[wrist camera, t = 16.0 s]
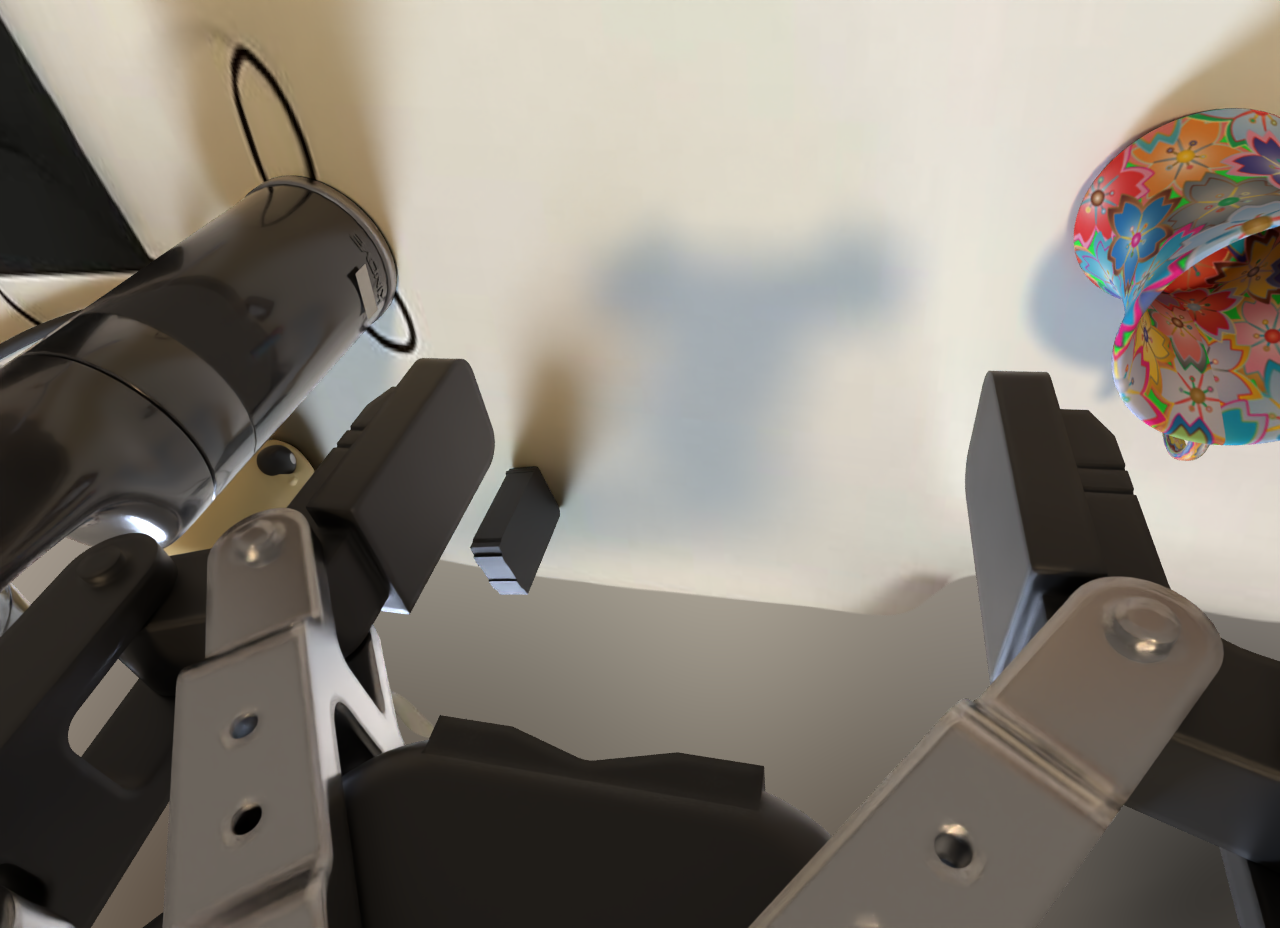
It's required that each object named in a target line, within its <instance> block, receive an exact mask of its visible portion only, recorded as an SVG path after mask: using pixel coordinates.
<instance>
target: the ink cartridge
mask: <svg viewBox="0 0 1280 928" xmlns="http://www.w3.org/2000/svg"><path fill="white" fill-rule="evenodd" d="M559 517H560V510H559V506H558V504H557V502H556V501H555V499H554V497H553V495H552V493H551V491H550V489H549V487H548V485H547V483H546V482H545V480H544V478H543V476H542V474H541V472H540V471H539V469H538V467H531V468H518V469H510V470H509V471H507V472H506V477H505V479H504V481H503V483H502V485H501V487H500V489H499V491H498V493H497V494H496V496H495V498H494V500H493V502H492V504H491V506H490V508H489V510H488V512H487V514H486V516H485V518H484V519H483V521H482V523H481V525H480V527H479V529H478V531H477V533H476V535H475V537H474V539H473V543H472V545H471V547H470V548H471V550H472V552H473V554H474V557H473V558H474V559H475V561H476V563H477V564H478V566H480V567H481V569H482V570H483V572H484V573H485V575H486V576H487V578H488V579H489V582H490V584H491V585H492V587H493V588H494V589H496V590H497V591H498V592H499V593H500V594H528V592H529V590H530V587H531V585H532V582H533V580H534V578H535V575H536V573H537V570H538V568H539V565H540V563H541V561H542V558H543V556H544V553H545V551H546V548H547V546H548V544H549V541H550V539H551V536H552V534H553V531H554V529H555V527H556V524H557V522H558V519H559Z"/></svg>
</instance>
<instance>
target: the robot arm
mask: <svg viewBox="0 0 1280 928" xmlns="http://www.w3.org/2000/svg"><path fill="white" fill-rule="evenodd" d="M396 282H397V281H396V270H395V265H394V261H393V258H392V255H391V252H390V250H389V247H388V245H387V243H386V241H385V240H384V238H383V236H382V235H381V233H380V231H379V230H378V229H377V227H376V226H375V224H374V223H373V222H372V221H371V220H370V218H369V217H368V216H367V215H366V214H365V213H364V212H363V211H362V210H361V209H360V208H359V207H358V206H357V205H356V204H354V203H353V202H352V201H351V200H349V199H348V198H347V197H345V196H344V195H343V194H341V193H340V192H338V191H336V190H335V189H333V188H331V187H329V186H327V185H325V184H323V183H320V182H318V181H315V180H312V179H308V178H304V177H298V176H280V177H275V178H272V179H269V180H267V181H265V182H263V183H262V184H260V185H259V186H257V187H256V188H255V189H253V190H252V191H251V192H249V193H248V194H247V196H246V197H245V198H244V199H243V200H241V201H240V202H238V203H237V204H235V205H234V206H233V207H231V208H230V209H228V210H227V211H225V212H224V213H222V214H221V215H219V216H218V217H216V218H215V219H213V220H212V221H210V222H209V223H207V224H206V225H205V226H203V227H202V228H200V229H199V230H197V231H196V232H194V233H193V234H192V235H190V236H189V237H187V238H186V239H184V240H183V241H182V242H180V243H179V244H177V245H176V246H174V247H173V248H171V249H170V250H169V251H167V252H166V253H164V254H163V255H161V256H160V257H158V258H157V259H156V260H154V261H153V262H151V263H150V264H148V265H147V266H146V267H144V268H143V269H141V270H140V271H138V272H137V273H135V274H134V275H133V276H131V277H130V278H128V279H127V280H125V281H124V282H122V283H121V284H120V285H118V286H117V287H115V288H114V289H112V290H111V291H110V292H108V293H107V294H105V295H104V296H102V297H101V298H99V299H98V300H97V301H95V302H94V303H92V304H91V305H89V306H88V307H86V308H85V309H82V310H79V311H76V312H72V313H69V314H66V315H64V316H61V317H58V318H55V319H53V320H50V321H47V322H45V323H42V324H40V325H37V326H35V327H33V328H31V329H28V330H26V331H24V332H22V333H20V334H18V335H16V336H14V337H12V338H10V339H9V340H7V341H5V342H3V343H1V344H0V359H2V358H4V357H6V356H7V355H9V354H11V353H13V352H15V351H17V350H19V349H21V348H23V347H25V346H27V345H29V344H31V343H33V342H35V341H38V340H40V339H41V340H40V341H38V342H37V343H35V344H34V345H32V346H31V347H30V348H28V349H27V350H25V351H24V352H22V353H21V354H20V355H18V356H17V357H15V358H14V359H13V360H11V361H9V362H8V363H6V364H5V365H3V366H2V367H1V368H0V928H91V926H92V925H93V923H94V922H95V920H96V918H97V917H98V915H99V913H100V912H101V910H102V909H103V907H104V906H105V904H106V902H107V901H108V899H109V897H110V896H111V894H112V893H113V891H114V889H115V888H116V886H117V885H118V883H119V881H120V880H121V878H122V877H123V875H124V873H125V872H126V870H127V868H128V867H129V865H130V864H131V862H132V860H133V859H134V857H135V856H136V854H137V852H138V851H139V849H140V847H141V846H142V844H143V843H144V841H145V839H146V838H147V836H148V835H149V833H150V831H151V830H152V828H153V826H154V825H155V823H156V822H157V820H158V818H159V816H160V815H161V814H162V812H163V810H164V809H165V807H166V806H167V804H168V802H169V801H170V806H169V824H168V842H167V861H166V878H165V897H164V912H163V913H161V914H160V915H159V916H158V917H156V918H155V919H153V920H152V921H151V922H149V923H148V924H147V925H146V926H144V927H143V928H1036V927H1037V926H1038V925H1039V923H1040V922H1041V921H1042V919H1043V918H1044V916H1045V915H1046V914H1047V912H1048V911H1049V909H1050V908H1051V906H1052V905H1053V904H1054V902H1055V901H1056V899H1057V898H1058V897H1059V895H1060V894H1061V892H1062V891H1063V889H1064V888H1065V886H1066V885H1067V884H1068V883H1069V881H1070V880H1071V878H1072V877H1073V876H1074V874H1075V873H1076V871H1077V870H1078V868H1079V867H1080V866H1081V864H1082V863H1083V861H1084V860H1085V859H1086V857H1087V856H1088V854H1089V853H1090V852H1091V850H1092V849H1093V847H1094V846H1095V845H1096V843H1097V842H1098V840H1099V839H1100V837H1101V836H1102V835H1103V833H1104V832H1105V830H1106V829H1107V827H1108V826H1109V825H1110V823H1111V822H1112V821H1113V819H1114V818H1115V816H1116V815H1117V813H1118V812H1119V811H1120V809H1121V807H1122V806H1123V805H1125V806H1127V807H1130V808H1132V809H1134V810H1136V811H1139V812H1141V813H1143V814H1146V815H1148V816H1150V817H1153V818H1155V819H1157V820H1159V821H1161V822H1164V823H1166V824H1168V825H1171V826H1173V827H1175V828H1177V829H1180V830H1182V831H1184V832H1187V833H1189V834H1191V835H1193V836H1196V837H1198V838H1200V839H1203V840H1205V841H1207V842H1209V843H1212V844H1214V845H1216V846H1218V847H1220V851H1221V855H1222V858H1223V862H1224V867H1225V870H1226V874H1227V878H1228V882H1229V886H1230V890H1231V894H1232V898H1233V902H1234V906H1235V909H1236V913H1237V917H1238V921H1239V925H1240V928H1280V661H1277V660H1274V659H1271V658H1268V657H1265V656H1262V655H1259V654H1256V653H1253V652H1251V651H1248V650H1245V649H1243V648H1240V647H1238V646H1236V645H1234V644H1232V643H1230V642H1227V641H1226V640H1224V639H1222V638H1221V637H1220V635H1219V633H1218V631H1217V629H1216V628H1215V626H1214V624H1213V623H1212V622H1211V621H1210V619H1209V618H1208V617H1207V616H1206V614H1205V613H1203V612H1202V611H1201V610H1200V609H1199V608H1198V607H1197V606H1196V605H1195V604H1193V603H1192V602H1191V601H1189V600H1188V599H1186V598H1185V597H1183V596H1182V595H1180V594H1178V593H1176V592H1175V591H1173V590H1171V588H1170V586H1169V584H1168V581H1167V579H1166V576H1165V573H1164V570H1163V568H1162V565H1161V562H1160V559H1159V557H1158V554H1157V551H1156V548H1155V546H1154V543H1153V540H1152V537H1151V535H1150V532H1149V529H1148V526H1147V523H1146V521H1145V518H1144V515H1143V512H1142V510H1141V507H1140V504H1139V501H1138V499H1137V496H1136V495H1134V494H1133V491H1134V488H1133V485H1132V482H1131V479H1130V477H1129V474H1128V471H1125V463H1124V460H1123V457H1122V454H1121V452H1120V449H1119V446H1118V443H1117V441H1116V438H1115V436H1114V435H1113V434H1112V433H1111V432H1110V431H1109V430H1108V429H1107V428H1106V427H1105V426H1104V425H1103V424H1102V423H1101V422H1100V421H1099V420H1098V419H1097V418H1096V417H1095V416H1094V415H1093V414H1092V413H1091V412H1090V411H1089V410H1069V409H1060V407H1059V404H1058V400H1057V397H1056V394H1055V390H1054V387H1053V383H1052V380H1051V377H1050V375H1049V373H1047V372H1015V371H988V372H987V374H986V376H985V379H984V382H983V386H982V391H981V395H980V400H979V405H978V409H977V414H976V418H975V423H974V427H973V432H972V436H971V441H970V445H969V450H968V455H967V462H966V474H965V491H966V501H967V509H968V516H969V524H970V532H971V539H972V547H973V555H974V563H975V570H976V578H977V586H978V593H979V601H980V609H981V617H982V624H983V632H984V640H985V647H986V655H987V663H988V671H989V678H990V686H989V687H988V688H987V689H986V690H985V691H984V692H983V693H982V695H980V696H979V697H978V698H977V699H976V700H974V701H971V700H969V699H967V698H965V699H962V700H961V701H959V702H958V703H956V704H955V705H954V706H953V707H952V708H951V709H949V710H948V711H947V712H946V713H945V715H943V717H941V719H940V720H939V721H938V722H937V723H936V724H935V725H934V726H933V727H932V728H931V729H930V731H929V732H928V733H927V734H926V735H925V736H924V737H923V738H922V739H921V740H920V741H919V742H918V744H917V745H916V746H915V747H914V748H913V749H912V750H911V751H910V752H909V754H908V755H907V756H906V757H905V758H904V759H903V760H902V761H901V762H900V763H899V764H898V765H897V766H896V768H895V769H894V770H893V771H892V772H891V773H890V774H889V775H888V776H887V777H886V778H885V779H884V781H883V782H882V783H881V784H880V785H879V786H878V787H877V788H876V789H875V790H874V791H873V793H872V794H871V795H870V796H869V797H868V798H867V799H866V800H865V801H864V802H863V803H862V804H861V806H860V807H859V808H858V809H857V810H856V811H855V812H854V813H853V814H852V815H851V816H850V818H849V819H848V820H847V821H846V822H845V823H844V824H843V825H842V826H841V827H840V828H839V829H838V831H837V832H836V833H835V834H834V835H833V836H831V835H830V834H829V833H828V832H827V831H826V830H825V829H824V828H823V827H821V826H820V825H819V824H818V823H816V822H815V821H814V820H813V819H811V818H810V817H809V816H808V815H806V814H805V813H804V812H802V811H800V810H799V809H797V808H795V807H794V806H792V805H791V804H789V803H787V802H786V801H784V800H782V799H780V798H778V797H776V796H773V795H772V794H769V793H767V792H765V777H764V766H760V765H754V764H747V763H740V762H735V761H728V760H722V759H715V758H709V757H702V756H696V755H689V754H684V753H667V754H657V755H647V756H638V757H626V758H616V759H606V760H597V761H589V760H583V759H580V758H577V757H576V756H573V755H571V754H569V753H567V752H565V751H563V750H560V749H558V748H556V747H554V746H552V745H550V744H548V743H546V742H544V741H542V740H540V739H538V738H535V737H533V736H531V735H529V734H527V733H525V732H523V731H520V730H519V729H516V728H514V727H511V726H504V725H498V724H492V723H486V722H479V721H473V720H467V719H460V718H454V717H448V716H441V715H440V716H439V718H438V721H437V723H436V725H435V727H434V729H433V732H432V734H431V736H430V738H429V740H424V741H419V742H415V743H411V744H407V745H405V744H404V741H403V739H402V737H401V734H400V731H399V728H398V724H397V720H396V715H395V710H394V705H393V700H392V696H391V691H390V686H389V681H388V677H387V672H386V667H385V662H384V657H383V653H382V648H381V643H380V638H379V635H378V632H377V630H376V629H375V627H374V625H373V623H374V621H375V620H376V618H377V616H378V614H379V613H380V611H386V612H396V613H403V614H410V613H411V611H412V609H413V607H414V605H415V603H416V601H417V600H418V598H419V596H420V594H421V592H422V590H423V588H424V587H425V585H426V583H427V581H428V579H429V578H430V576H431V574H432V572H433V570H434V568H435V566H436V564H437V563H438V561H439V559H440V557H441V555H442V554H443V552H444V550H445V548H446V546H447V544H448V542H449V541H450V539H451V537H452V535H453V533H454V531H455V530H456V528H457V526H458V524H459V522H460V520H461V518H462V517H463V515H464V513H465V511H466V509H467V507H468V506H469V504H470V502H471V500H472V498H473V496H474V494H475V493H476V491H477V489H478V487H479V485H480V483H481V482H482V480H483V478H484V476H485V474H486V472H487V470H488V469H489V467H490V465H491V462H492V459H493V455H494V447H495V439H494V432H493V428H492V425H491V422H490V419H489V416H488V413H487V411H486V408H485V405H484V402H483V399H482V396H481V393H480V390H479V387H478V385H477V382H476V379H475V376H474V373H473V370H472V368H471V366H470V364H469V363H468V362H467V361H466V360H464V359H438V358H421V359H418V360H417V361H416V362H415V363H414V364H413V365H412V367H411V368H410V369H409V371H408V372H407V373H406V375H405V376H404V377H403V378H402V380H401V381H400V382H399V384H398V385H397V386H396V387H391V388H390V389H388V390H387V391H386V392H384V393H383V394H382V395H380V396H379V397H377V398H376V399H375V400H373V401H372V402H370V403H369V404H368V405H367V406H366V407H365V408H364V409H363V411H362V412H361V413H360V415H359V416H358V417H357V418H356V420H355V421H354V422H353V423H352V425H351V426H350V427H351V430H347V431H346V432H345V434H344V435H343V436H342V438H341V439H340V440H339V441H338V443H337V448H333V449H332V450H331V452H330V453H329V454H328V455H327V457H326V458H325V459H324V460H323V462H322V463H321V464H320V466H319V467H318V468H317V469H316V471H315V472H314V473H313V474H312V476H311V477H310V478H309V480H308V481H307V482H306V483H305V485H304V486H303V487H302V488H301V490H300V491H299V492H298V494H297V495H296V496H295V497H294V499H293V500H292V501H291V503H290V504H289V505H288V506H287V508H273V509H268V510H264V511H261V512H257V513H255V514H253V515H250V516H248V517H246V518H244V519H242V520H241V521H239V522H237V523H236V524H234V525H233V526H232V527H230V528H229V529H228V530H227V531H225V532H224V533H223V534H222V535H221V536H220V537H219V539H218V540H217V541H216V542H215V544H214V545H213V547H212V548H210V549H205V550H199V551H194V552H188V553H183V554H177V555H172V556H169V555H168V554H167V553H166V552H165V551H164V548H166V547H168V546H170V545H171V544H173V543H174V542H176V541H177V540H178V539H179V538H180V537H181V536H182V535H183V534H184V533H185V532H186V531H187V530H188V529H189V528H190V527H191V526H192V525H193V524H194V523H195V522H196V520H197V519H198V518H199V517H200V516H201V515H202V514H203V513H204V511H205V510H206V509H207V508H208V507H209V506H210V505H211V504H212V503H213V501H214V500H215V499H216V498H217V497H218V496H219V495H220V494H221V492H222V491H223V490H224V489H225V488H226V487H227V486H228V485H229V483H230V482H231V481H232V480H233V479H234V478H235V477H236V476H237V474H238V473H239V472H240V471H241V470H242V469H243V468H244V467H245V466H246V464H247V463H248V462H249V461H250V459H251V458H252V457H253V456H254V455H255V454H256V453H257V452H258V450H259V449H260V448H261V447H262V446H263V445H264V444H265V443H266V442H267V440H268V439H269V438H270V437H271V436H272V435H273V434H274V433H275V431H276V430H277V429H278V428H279V427H280V426H281V425H282V424H283V422H284V421H285V420H286V419H287V418H288V417H289V416H290V415H291V413H292V412H293V411H294V410H295V409H296V408H297V407H298V406H299V404H300V403H301V402H302V401H303V400H304V399H305V398H306V397H307V395H308V394H309V393H310V392H311V391H312V390H313V389H314V388H315V386H316V385H317V384H318V383H319V382H320V381H321V380H322V379H323V378H324V376H325V375H326V374H327V373H328V372H329V371H330V370H331V369H332V367H333V366H334V365H335V364H336V363H337V362H338V361H339V360H340V358H341V357H342V356H343V355H344V354H345V353H346V352H347V351H348V349H349V348H350V347H351V346H352V345H353V344H354V343H355V342H356V341H357V339H358V338H359V337H360V336H361V335H362V334H363V333H364V331H365V330H366V329H367V328H368V327H369V326H370V325H371V324H372V323H374V322H375V321H376V320H377V319H378V318H379V317H380V316H381V315H382V314H383V313H384V312H385V311H386V310H387V308H388V307H389V306H390V304H391V302H392V300H393V298H394V295H395V291H396ZM42 338H43V339H42ZM65 537H67V538H69V539H71V540H74V541H77V542H80V543H82V544H86V545H88V546H92V547H91V548H89V549H88V550H86V551H85V552H83V553H82V554H80V555H79V556H78V557H77V558H75V559H74V560H73V561H72V562H71V563H70V564H69V565H68V566H67V567H66V568H65V569H64V570H63V571H62V572H61V573H60V574H59V575H58V576H57V577H56V578H55V580H54V581H53V582H52V583H51V584H50V585H49V586H48V587H47V588H46V589H45V590H44V591H43V592H42V594H41V595H40V596H39V597H38V598H37V599H36V600H35V601H34V602H33V603H32V604H30V603H29V602H28V601H27V599H26V598H25V597H24V596H23V595H22V594H21V593H20V591H19V590H18V589H17V588H16V587H15V586H14V584H13V583H12V581H13V580H14V579H15V578H16V577H18V576H19V575H20V574H21V573H22V572H23V571H25V570H26V569H27V568H28V567H29V566H30V565H32V564H33V563H34V562H35V561H36V560H38V559H39V558H40V557H41V556H43V555H44V554H45V553H46V552H47V551H49V550H50V549H51V548H52V547H53V546H55V545H56V544H57V543H58V542H60V541H61V540H62V539H63V538H65ZM117 659H119V660H120V661H121V662H122V663H123V664H125V665H126V666H127V667H128V668H129V669H130V670H131V671H132V672H133V673H134V674H135V675H136V676H138V677H139V679H138V681H137V682H136V683H135V685H134V686H133V688H132V689H131V690H130V692H129V693H128V694H127V696H126V697H125V698H124V700H123V701H122V702H121V704H120V705H119V707H118V708H117V709H116V711H115V712H114V713H113V715H112V716H111V717H110V719H109V720H108V721H107V723H106V724H105V725H104V727H103V728H102V729H101V731H100V732H99V734H98V735H97V736H96V738H95V739H94V740H93V742H92V743H91V745H90V746H89V747H88V748H87V750H86V751H85V753H84V754H83V755H82V757H80V756H78V755H77V754H76V753H74V752H73V751H72V749H71V748H70V745H69V742H68V730H69V726H70V723H71V721H72V719H73V717H74V715H75V714H76V712H77V711H78V710H79V708H80V707H81V706H82V704H83V703H84V702H85V701H86V699H87V698H88V697H89V695H90V694H91V693H92V692H93V690H94V689H95V688H96V686H97V685H98V684H99V683H100V681H101V680H102V679H103V677H104V676H105V675H106V674H107V672H108V671H109V670H110V668H111V667H112V666H113V665H114V663H115V662H116V661H117Z"/></svg>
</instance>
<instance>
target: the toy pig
mask: <svg viewBox="0 0 1280 928" xmlns="http://www.w3.org/2000/svg"><path fill="white" fill-rule="evenodd" d="M314 472H315V471H314V469H313V468H312V466H311V465H310V463H309V462H308V461H307V459H306V458H305V457H304V456H303V455H302V453H301V452H300V451H299V450H297V449H296V448H295V447H293V446H291V445H290V444H287V443H285V442H282V441H279V440H267V442H266V443H265V444H264V445H263V446H262V447H261V448H260V449H259V450H258V452H257V453H256V454H255V455H254V456H253V457H252V458H251V459H250V461H249V462H248V463H247V464H246V466H245V467H244V468H243V469H242V470H241V471H240V472H239V473H238V474H237V476H236V477H235V478H234V479H233V480H232V481H231V482H230V483H229V485H228V486H227V487H226V488H225V489H224V490H223V491H222V492H221V494H220V495H219V496H218V497H217V498H216V499H215V500H214V501H213V503H212V504H211V505H210V506H209V507H208V508H207V509H206V510H205V511H204V513H203V514H202V515H201V516H200V517H199V518H198V519H197V520H196V522H195V523H194V524H193V525H192V526H191V527H190V528H189V529H188V530H187V531H186V532H185V533H184V534H183V535H182V536H181V537H180V538H179V539H178V540H177V541H176V542H174V543H173V544H171V545H170V546H168V547H166V548H164V551H165V552H166V553H167V554H168V555H169V556H172V555H177V554H183V553H188V552H194V551H199V550H205V549H210V548H212V547H213V545H214V544H215V542H216V541H217V540H218V539H219V537H220V536H221V535H222V534H223V533H224V532H225V531H227V530H228V529H229V528H230V527H232V526H233V525H234V524H236V523H237V522H239V521H241V520H242V519H244V518H246V517H248V516H250V515H253V514H255V513H257V512H261V511H264V510H268V509H273V508H287V506H288V505H289V504H290V503H291V501H292V500H293V499H294V497H295V496H296V495H297V494H298V492H299V491H300V490H301V488H302V487H303V486H304V485H305V483H306V482H307V481H308V480H309V478H310V477H311V476H312V474H313V473H314Z"/></svg>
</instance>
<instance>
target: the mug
mask: <svg viewBox="0 0 1280 928" xmlns="http://www.w3.org/2000/svg"><path fill="white" fill-rule="evenodd" d="M1074 248H1075V254H1076V257H1077V260H1078V262H1079V265H1080V267H1081V269H1082V270H1083V272H1084V273H1085V275H1086V276H1087V277H1088V278H1089V279H1090V280H1091V281H1092V282H1093V283H1094V284H1095V285H1096V286H1097V287H1099V288H1100V289H1102V290H1103V291H1105V292H1106V293H1108V294H1110V295H1112V296H1115V297H1117V298H1119V299H1122V300H1123V303H1124V307H1125V316H1124V319H1123V321H1122V323H1121V325H1120V328H1119V330H1118V333H1117V335H1116V339H1115V343H1114V346H1113V353H1112V374H1113V379H1114V383H1115V386H1116V389H1117V391H1118V393H1119V395H1120V397H1121V399H1122V400H1123V402H1124V403H1125V405H1126V406H1127V407H1128V408H1129V410H1130V411H1131V412H1132V413H1133V414H1134V415H1136V416H1137V417H1138V418H1139V419H1140V420H1142V421H1143V422H1145V423H1146V424H1148V425H1149V426H1151V427H1152V428H1154V429H1156V430H1158V431H1160V432H1162V434H1163V439H1164V443H1165V446H1166V449H1167V451H1168V453H1169V454H1170V456H1172V457H1173V458H1174V459H1177V460H1183V461H1189V460H1195V459H1197V458H1199V457H1201V456H1202V455H1203V454H1204V453H1205V451H1206V450H1207V449H1208V447H1209V445H1210V444H1213V445H1250V444H1260V443H1268V442H1274V441H1280V117H1278V116H1276V115H1274V114H1270V113H1267V112H1263V111H1257V110H1252V109H1241V108H1230V109H1217V110H1210V111H1205V112H1200V113H1196V114H1193V115H1189V116H1186V117H1183V118H1180V119H1177V120H1175V121H1172V122H1170V123H1168V124H1165V125H1163V126H1161V127H1159V128H1157V129H1155V130H1153V131H1151V132H1150V133H1148V134H1146V135H1145V136H1143V137H1141V138H1140V139H1138V140H1137V141H1135V142H1134V143H1132V144H1131V145H1130V146H1128V147H1127V148H1126V149H1125V150H1123V151H1122V152H1121V153H1120V154H1119V155H1117V156H1116V157H1115V158H1114V159H1113V160H1112V161H1111V162H1110V163H1109V164H1108V165H1107V166H1106V167H1105V168H1104V170H1103V171H1102V172H1101V173H1100V174H1099V176H1098V177H1097V178H1096V179H1095V181H1094V182H1093V184H1092V185H1091V187H1090V188H1089V190H1088V192H1087V193H1086V195H1085V197H1084V199H1083V201H1082V204H1081V206H1080V208H1079V211H1078V214H1077V218H1076V223H1075V229H1074ZM1184 440H1187V441H1188V443H1187V445H1186V444H1185V441H1184Z"/></svg>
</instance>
